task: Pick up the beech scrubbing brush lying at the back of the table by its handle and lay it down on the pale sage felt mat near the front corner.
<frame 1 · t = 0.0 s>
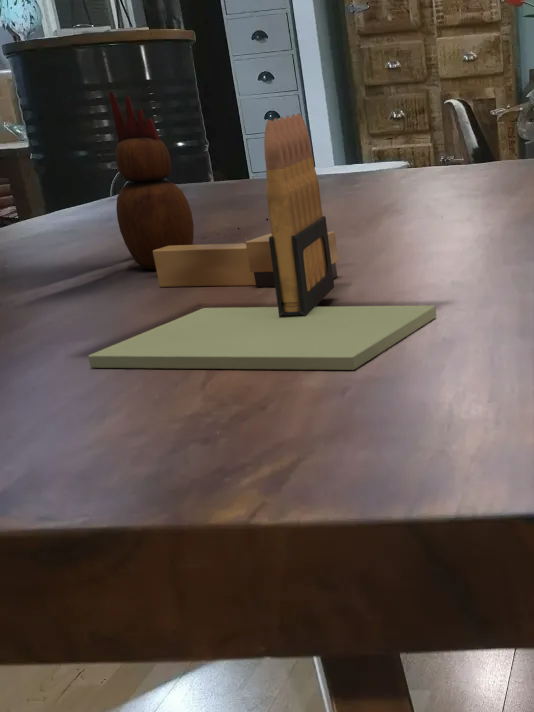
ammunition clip: (308, 304, 79), point 1 cm above the table, touching felt mat
wooden figurine: (164, 269, 105), on the table
brush: (218, 283, 94), on the table
felt mat: (271, 341, 72), on the table
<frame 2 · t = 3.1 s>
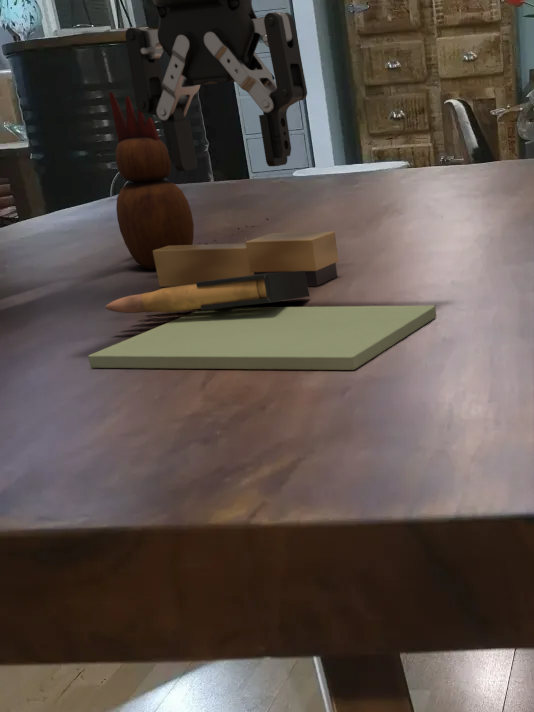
hand: (232, 167, 89), 9 cm above the table, tool pointing down, fingers open, 8 cm apart
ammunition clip: (292, 285, 79), point 2 cm above the table, touching felt mat
everything else where it was.
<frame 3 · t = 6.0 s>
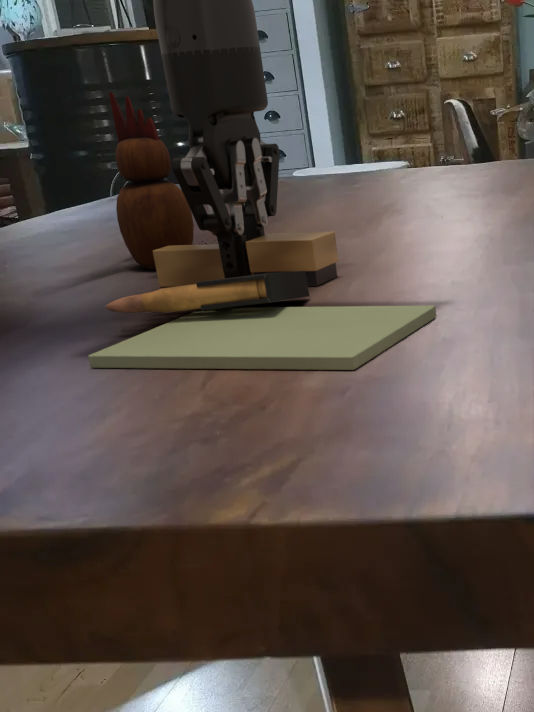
hand: (248, 277, 93), 0 cm above the table, tool pointing down, fingers closed on brush, 2 cm apart
brush: (218, 283, 94), on the table, touching gripper
everything else where it was.
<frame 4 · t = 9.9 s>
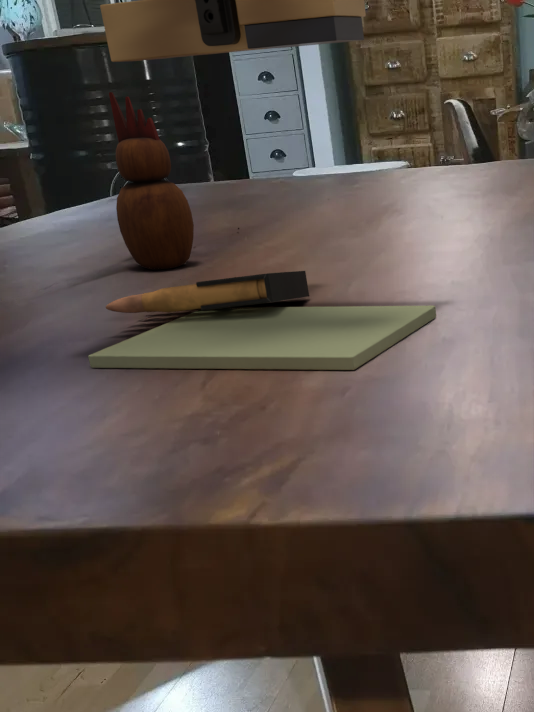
hand: (236, 43, 65), 17 cm above the table, tool pointing down, fingers closed on brush, 2 cm apart
brush: (194, 55, 66), point 17 cm above the table, touching gripper
everything else where it was.
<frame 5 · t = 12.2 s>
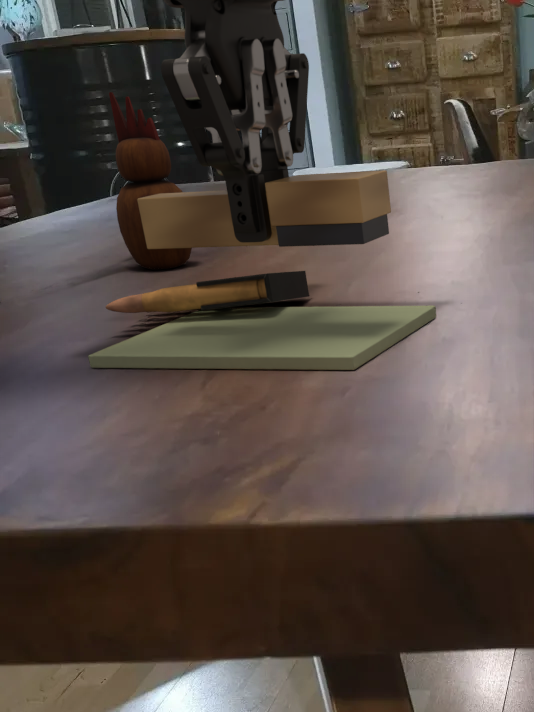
hand: (266, 235, 68), 7 cm above the table, tool pointing down, fingers closed on brush, 2 cm apart
brush: (226, 243, 69), point 6 cm above the table, touching gripper
everything else where it was.
when the fingers open (1 cm above the table, at t = 13.8 s): brush stays where it is, resting on felt mat.
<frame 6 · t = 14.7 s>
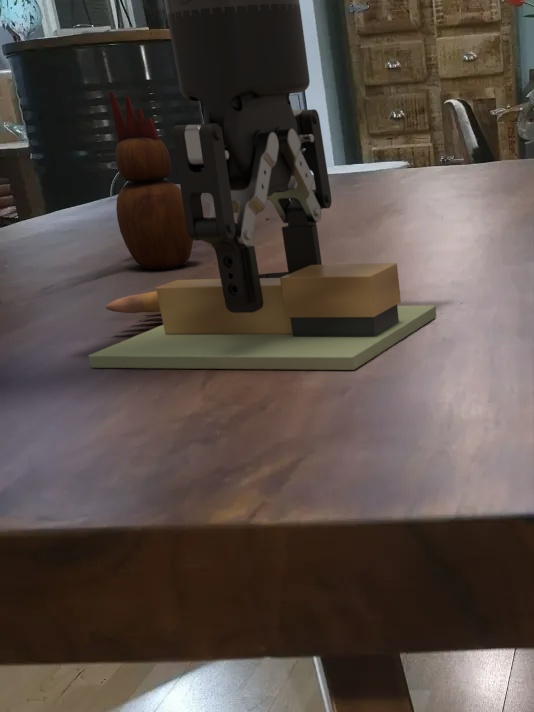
hand: (278, 297, 70), 3 cm above the table, tool pointing down, fingers open, 8 cm apart
brush: (241, 329, 72), point 1 cm above the table, touching felt mat
everything else where it was.
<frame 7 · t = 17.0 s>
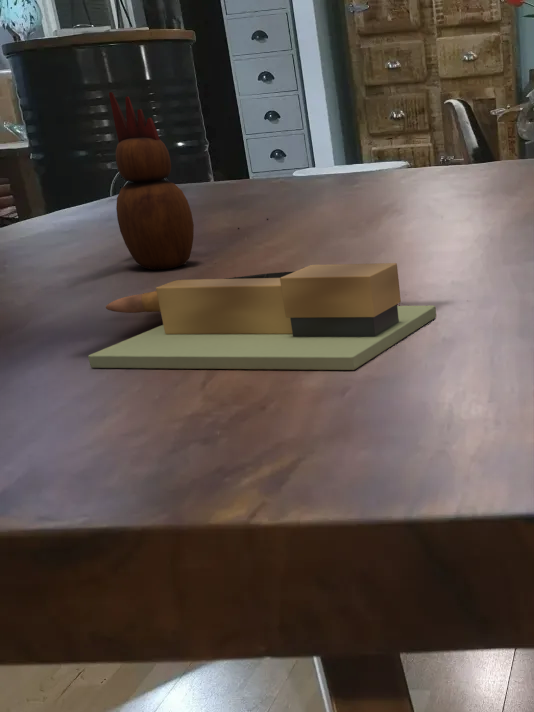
nothing on the table moved.
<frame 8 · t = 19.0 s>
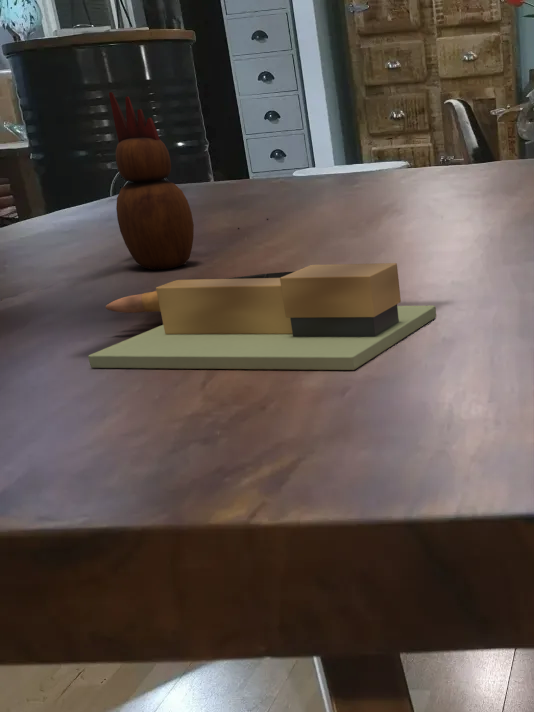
nothing on the table moved.
at the end: brush inside the target area on the felt mat (0.4 cm from its centre), point 0.8 cm above the felt mat's base; the gripper is holding nothing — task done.
